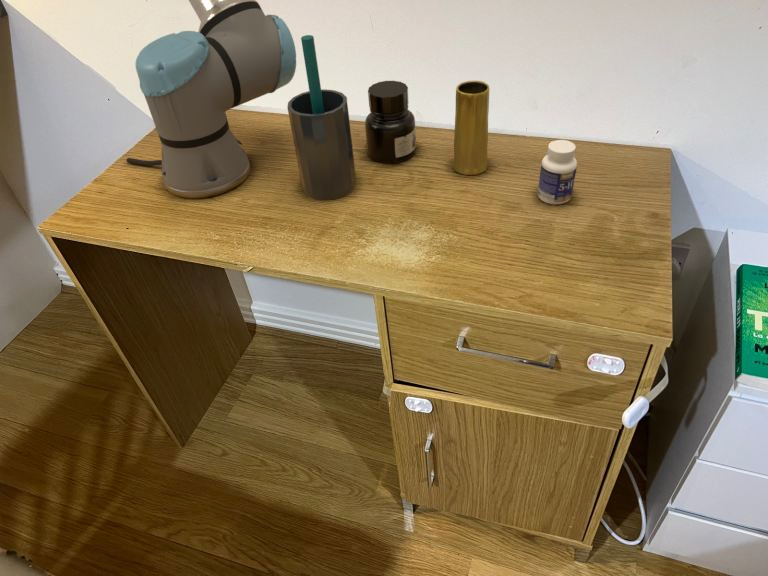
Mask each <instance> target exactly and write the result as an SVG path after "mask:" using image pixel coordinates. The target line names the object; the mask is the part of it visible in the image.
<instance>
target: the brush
mask: <svg viewBox="0 0 768 576" xmlns="http://www.w3.org/2000/svg"><path fill="white" fill-rule="evenodd" d="M300 40H301V47H302V55H303V59H304V65H305V66H304V67H305V72H306V79H307V85H308V91H309V92H310V98H311V105H312V111H313V114H320V113H324V106H323V99H322V92H321V90H322V86H321V79H320V72H319V64H318V59H317V51H316V45H315V44H316V43H315V38H314V35H312V34H306V35H303V36H301V37H300Z"/></svg>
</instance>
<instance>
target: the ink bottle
mask: <svg viewBox="0 0 768 576" xmlns="http://www.w3.org/2000/svg"><path fill="white" fill-rule="evenodd" d="M367 96H368V107H369V112H370V113H369V114H368V115H367V116H366V118H365V121H364V127H365V139H366V149H367V154H368V156H369V158H371V159H372V160H374V161H377V162H381V163H399V162H403V161H406V160H408V159H410V158H411V157H412V156H414V154H415V153H416V150H417V137H416V117H415V115H414V114H413V112H412V111H411V110H410V109H409V86H408V85H407V84H406V83H404V82H402V81H398V80H383V81H378V82H376V83H373V84H372V85H370V86H369V87H368V90H367Z"/></svg>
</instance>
